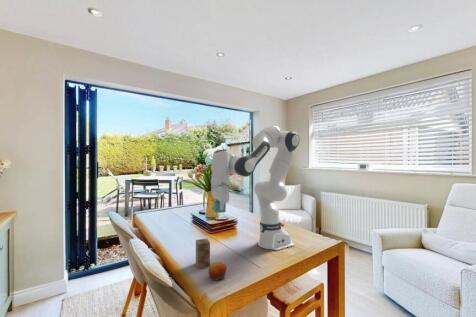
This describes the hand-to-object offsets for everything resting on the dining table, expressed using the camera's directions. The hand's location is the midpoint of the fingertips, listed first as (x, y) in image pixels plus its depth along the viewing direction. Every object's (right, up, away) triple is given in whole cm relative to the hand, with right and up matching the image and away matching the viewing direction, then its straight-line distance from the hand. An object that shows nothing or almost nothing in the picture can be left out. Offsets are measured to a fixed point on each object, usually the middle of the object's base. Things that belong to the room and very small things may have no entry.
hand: (219, 208), depth 117 cm
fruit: (0, -29, -13) cm, 32 cm away
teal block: (0, -2, 0) cm, 2 cm away
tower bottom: (-8, -28, -1) cm, 30 cm away
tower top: (-8, -22, -1) cm, 24 cm away
